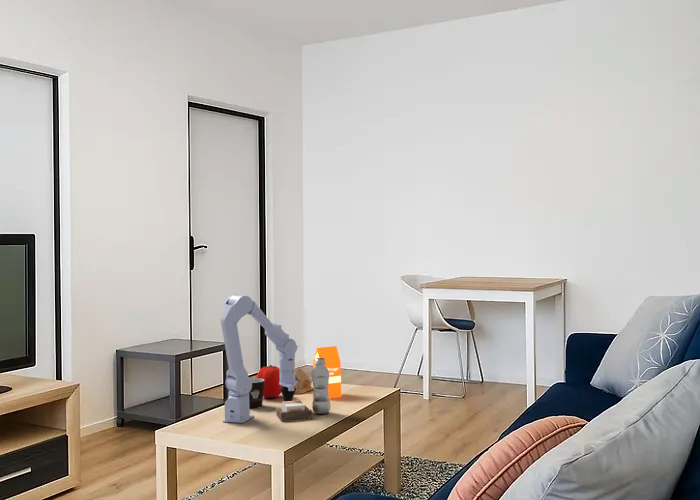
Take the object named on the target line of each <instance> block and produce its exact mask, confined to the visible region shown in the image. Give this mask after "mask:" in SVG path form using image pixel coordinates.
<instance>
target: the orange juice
mask: <svg viewBox="0 0 700 500" xmlns="http://www.w3.org/2000/svg"><path fill="white" fill-rule="evenodd" d="M316 358H325V362H326V364H325V366H326V367H327V369H328V370H329V383H328V393H329V399H338V398H342V373H341V371H342V370H341V369H342V368H341V365H342V363H341V359H340V354H339V352H338V348H337V346H336V345H334V346H333V345H332V346H322V347H316V351H315V354H314V357H313V360H312V363H313V368H314V367H315V366H316V364H315V359H316Z"/></svg>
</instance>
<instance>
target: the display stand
mask: <svg viewBox="0 0 700 500" xmlns="http://www.w3.org/2000/svg"><path fill="white" fill-rule="evenodd" d="M275 415H276V417H277V418H278V419H279V420H280V422H291V421H303V420H312V419H313V409H309V407H308V406H306V405H305V410H302V411H291V412H282V408H280V407H276V408H275Z"/></svg>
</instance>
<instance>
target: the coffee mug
mask: <svg viewBox="0 0 700 500" xmlns="http://www.w3.org/2000/svg"><path fill="white" fill-rule="evenodd" d="M249 379H250V380H251V382H252V388H251V390H250V392H249V410H250V409H253V410H255V409H260V408H262V407H263V401H264V400H263V399H264V397H263V391H264V379H259V378H255V377H253V378H249Z"/></svg>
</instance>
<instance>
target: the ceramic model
mask: <svg viewBox="0 0 700 500" xmlns="http://www.w3.org/2000/svg"><path fill="white" fill-rule="evenodd" d="M295 381H298V384H295V386H294V387H295V388H296V391H295V393H294V395H297V394H304V393H306V392H309V391H313V389H314V388H313V386H312V384H313V381H312V379H311V378H310V376H308V375H307V374H306V372H304V370H303V369H302V368H301V367H299V366H297V367H296V368H295Z"/></svg>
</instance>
